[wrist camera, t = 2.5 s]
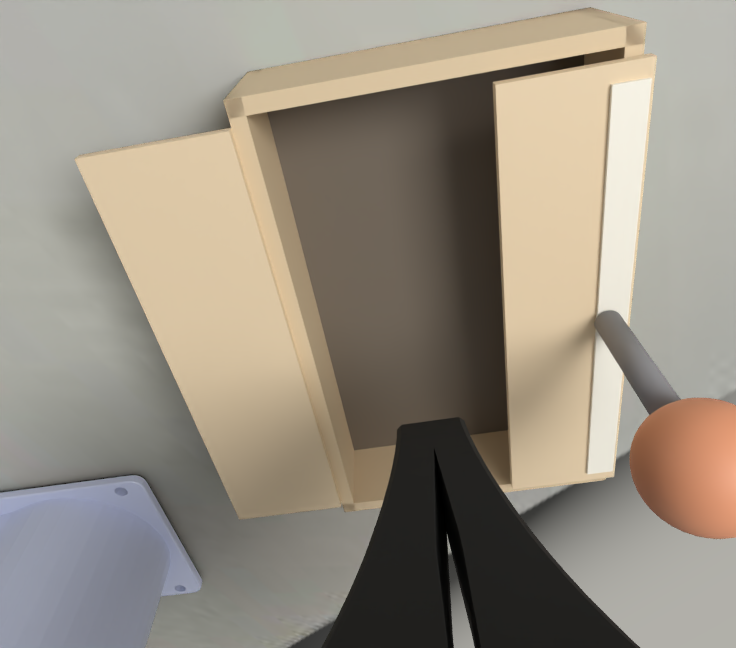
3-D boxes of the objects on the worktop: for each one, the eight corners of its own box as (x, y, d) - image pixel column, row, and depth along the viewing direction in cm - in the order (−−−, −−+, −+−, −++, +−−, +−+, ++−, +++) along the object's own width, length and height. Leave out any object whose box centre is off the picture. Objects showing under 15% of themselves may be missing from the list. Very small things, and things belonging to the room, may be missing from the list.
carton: (259, 453, 23) (244, 530, 20) (119, 95, 16) (61, 132, 12) (573, 411, 22) (607, 486, 19) (590, 7, 15) (651, 23, 11)
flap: (510, 482, 19) (574, 706, 14) (492, 81, 12) (611, 199, 7) (630, 467, 19) (748, 691, 13) (682, 47, 12) (979, 139, 6)
